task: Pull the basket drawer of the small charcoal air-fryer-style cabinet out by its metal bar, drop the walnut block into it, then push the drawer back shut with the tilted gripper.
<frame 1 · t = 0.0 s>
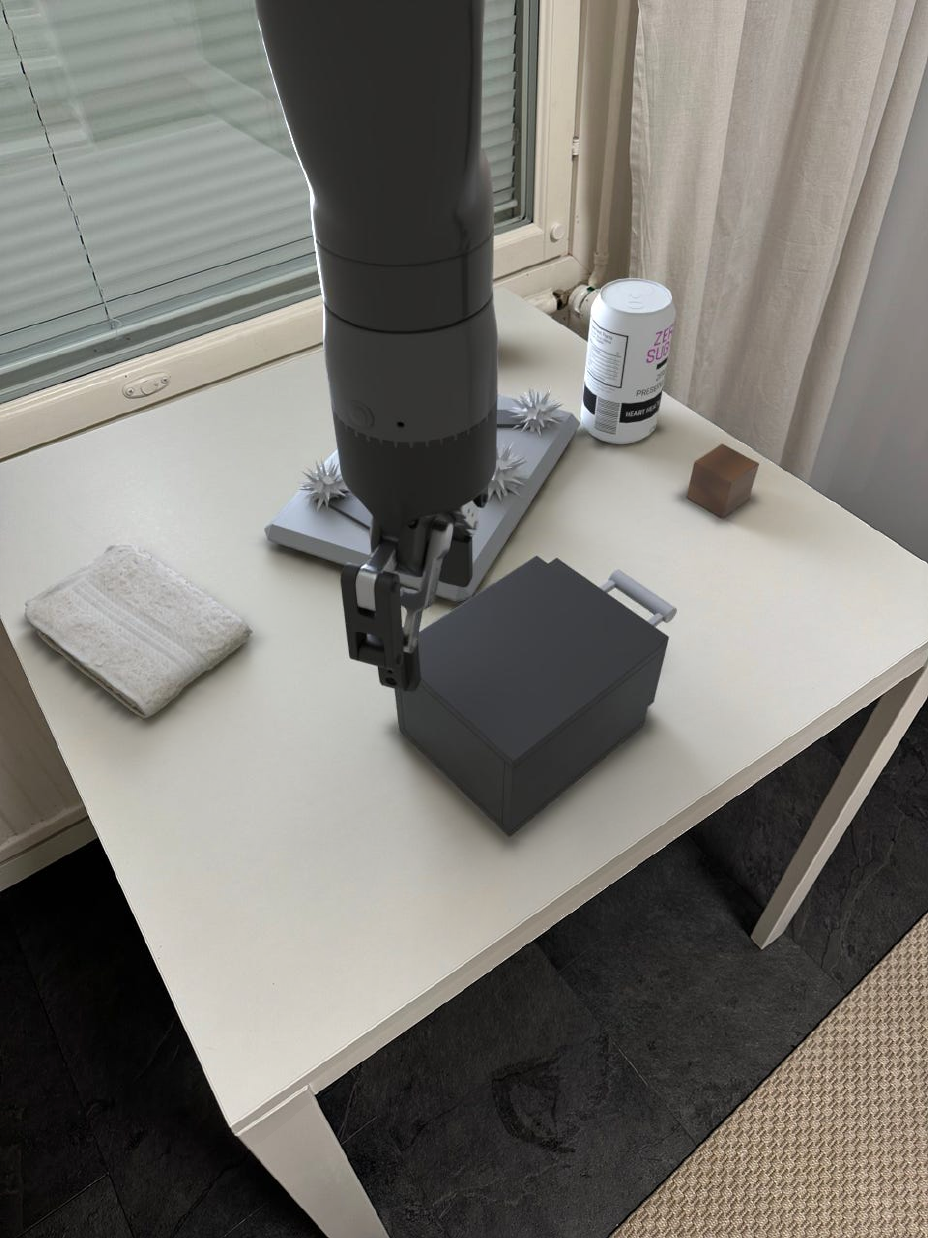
hand: (428, 629, 52), 19 cm above the table, tool pointing down, fingers open, 8 cm apart
grey zigzag star board: (432, 485, 91), on the table
washcloth: (139, 634, 77), on the table
drawer: (567, 657, 68), point 5 cm above the table, slide at 0.5 cm
cabinet: (521, 727, 70), on the table
decorative egg: (464, 351, 108), on the table
block: (717, 498, 89), on the table
supplement can: (617, 426, 97), on the table
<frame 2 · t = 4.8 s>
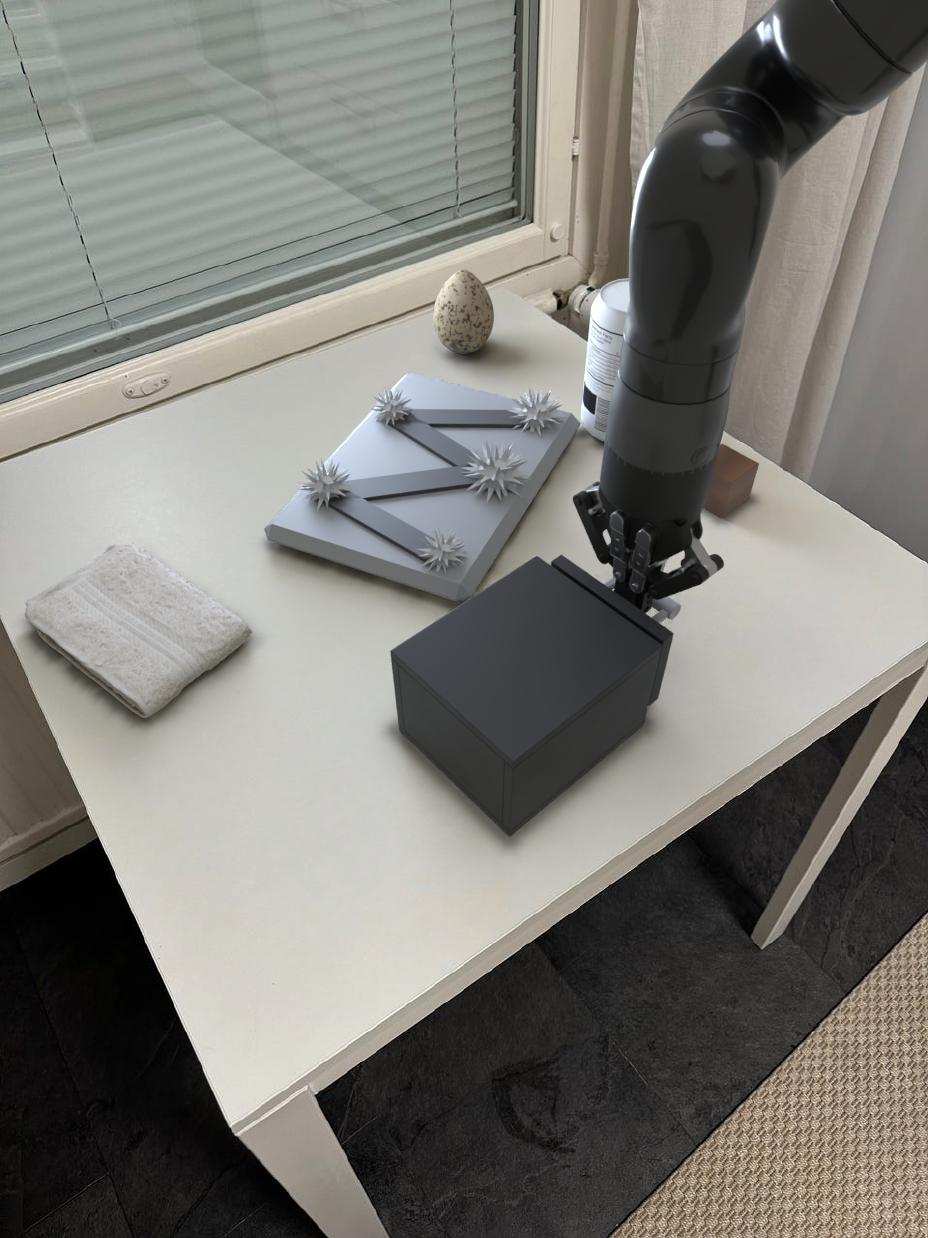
hand: (629, 612, 72), 5 cm above the table, tool pointing down, fingers closed
drawer: (572, 654, 69), point 5 cm above the table, slide at 1.0 cm, touching gripper
everything else where it was.
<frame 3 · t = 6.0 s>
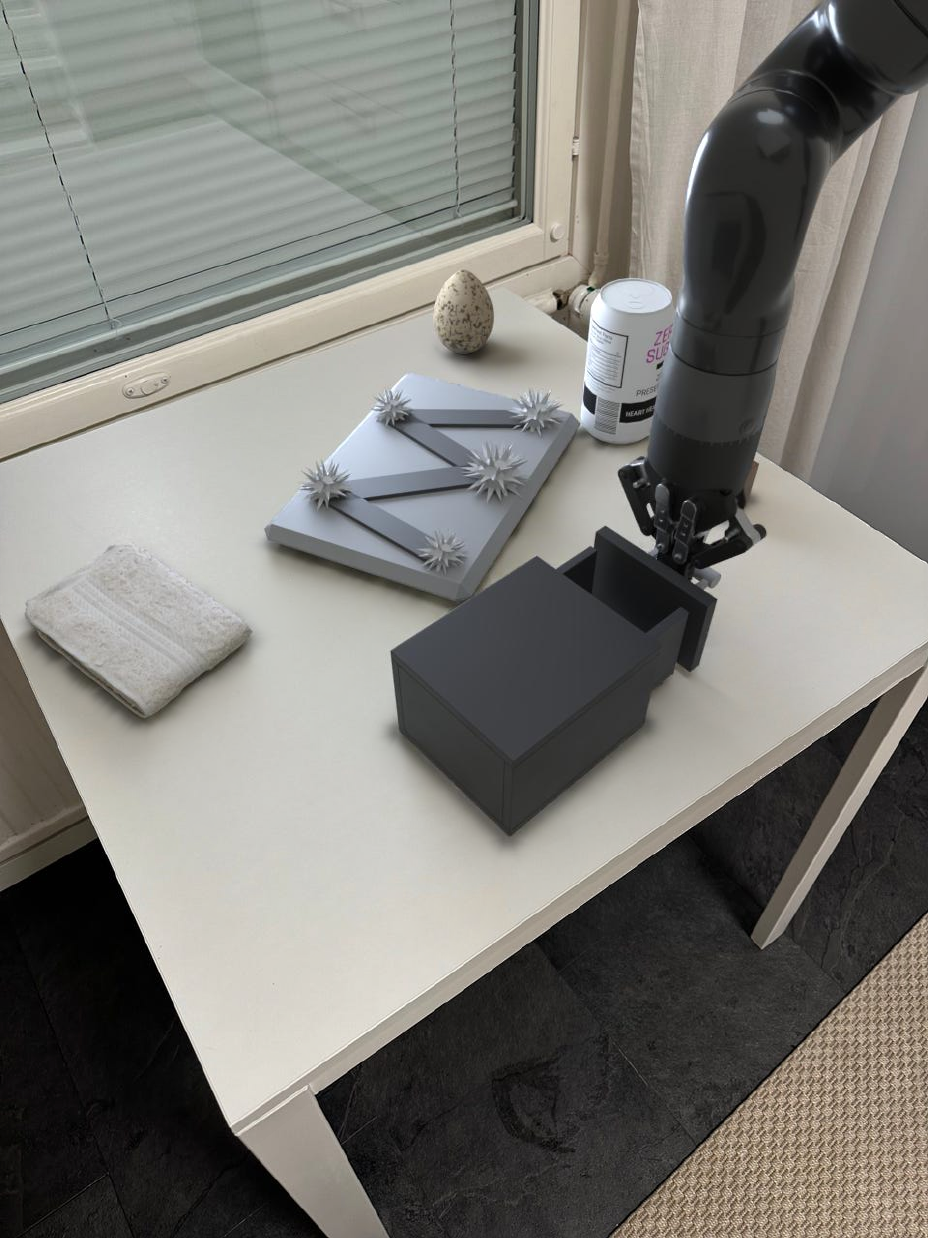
hand: (670, 583, 74), 5 cm above the table, tool pointing down, fingers closed
drawer: (617, 621, 71), point 5 cm above the table, slide at 6.2 cm, touching gripper
everything else where it was.
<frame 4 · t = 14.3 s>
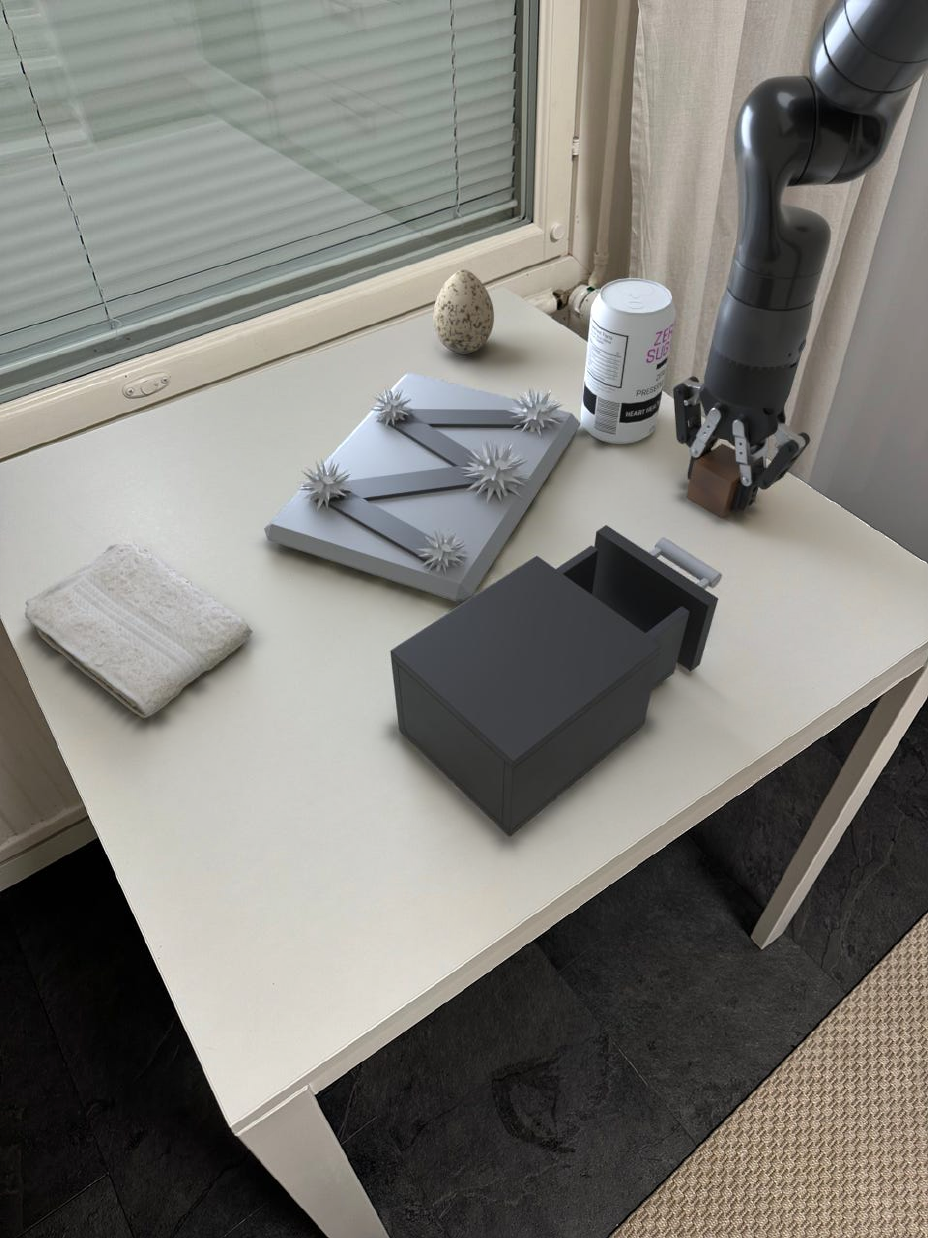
hand: (718, 495, 88), 0 cm above the table, tool pointing down, fingers closed on block, 4 cm apart
drawer: (617, 620, 71), point 5 cm above the table, slide at 6.3 cm
block: (717, 498, 89), on the table, touching gripper
everything else where it was.
when the fingers open (9 cm above the table, at t = 19.9 s): block drops 7 cm, resting on drawer.
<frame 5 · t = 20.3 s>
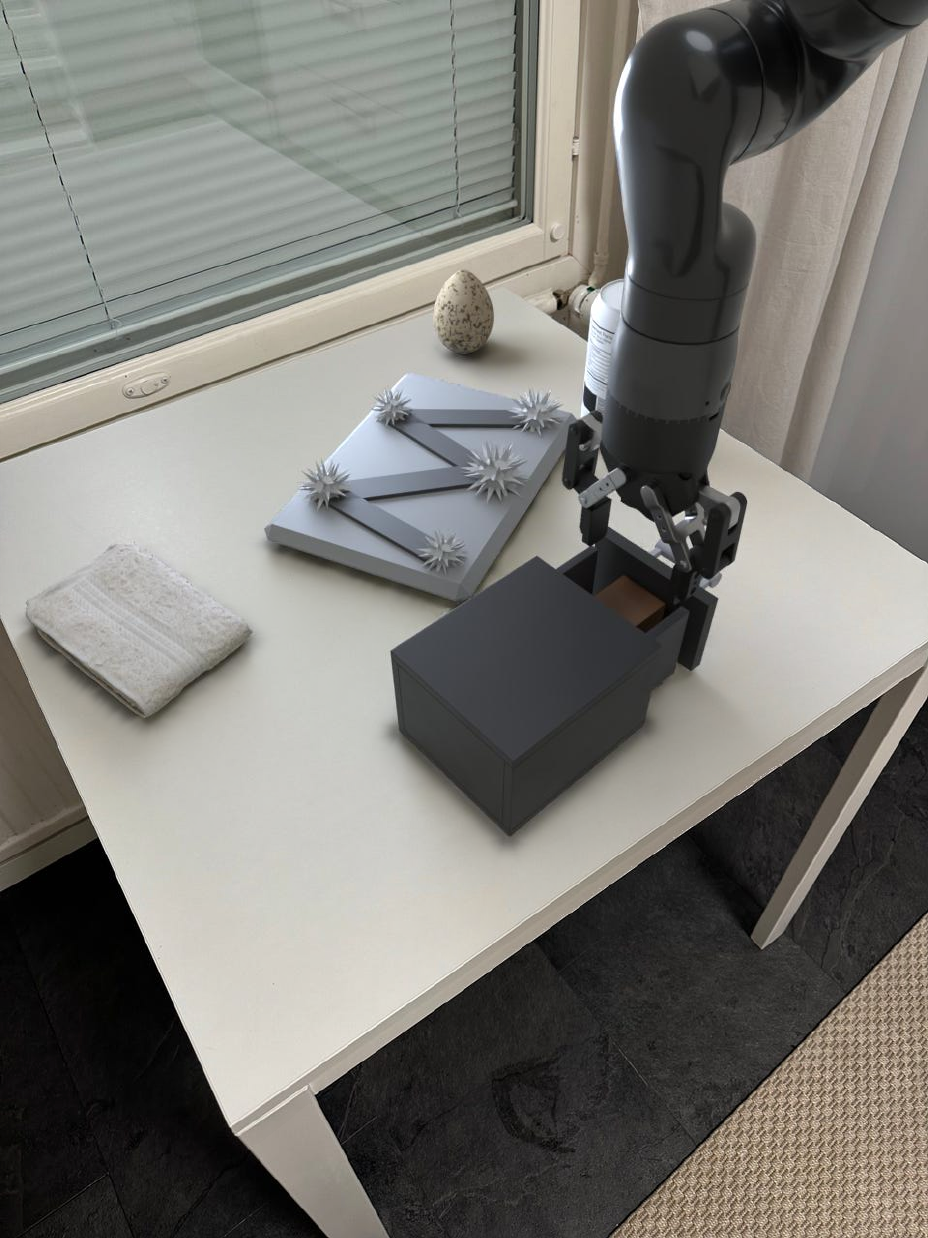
hand: (635, 567, 68), 10 cm above the table, tool pointing down, fingers open, 8 cm apart
drawer: (617, 620, 71), point 5 cm above the table, slide at 6.3 cm, touching block
block: (620, 639, 73), point 2 cm above the table, touching drawer
everything else where it was.
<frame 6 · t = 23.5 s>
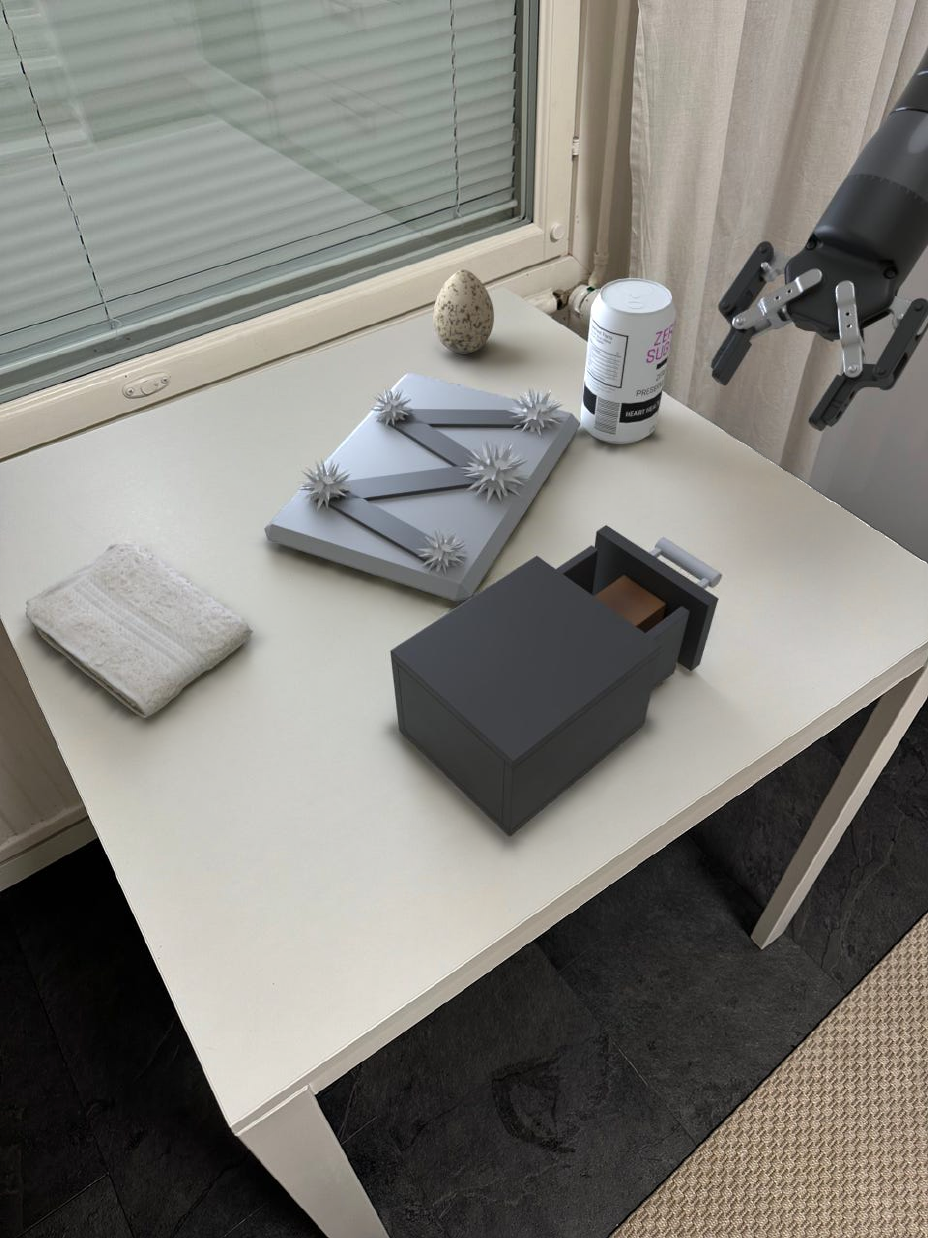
hand: (764, 403, 67), 19 cm above the table, tool tilted 45°, fingers open, 8 cm apart
nothing on the table moved.
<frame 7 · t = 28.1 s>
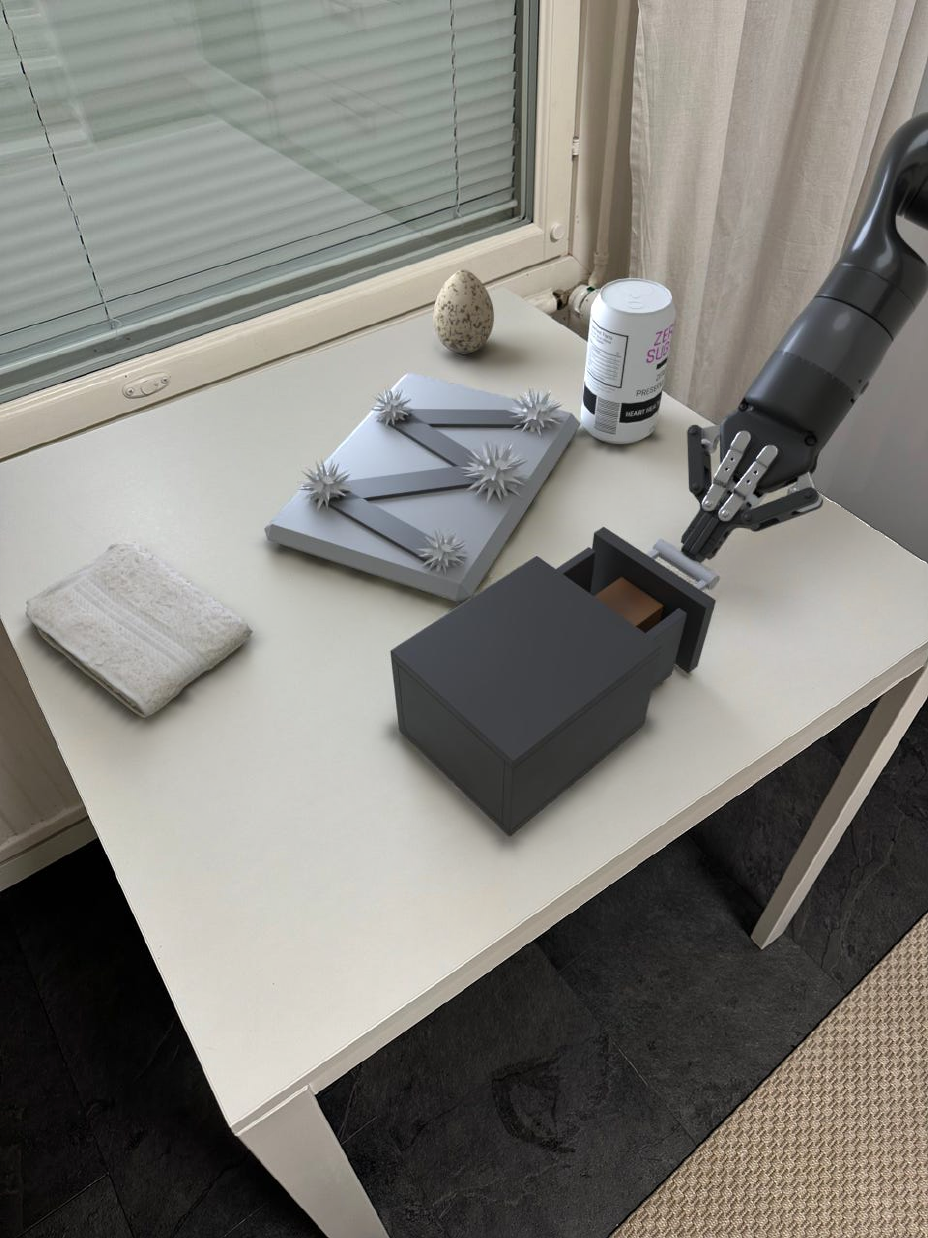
hand: (691, 557, 74), 6 cm above the table, tool tilted 45°, fingers closed
drawer: (615, 622, 71), point 5 cm above the table, slide at 6.0 cm, touching block, gripper
everything else where it was.
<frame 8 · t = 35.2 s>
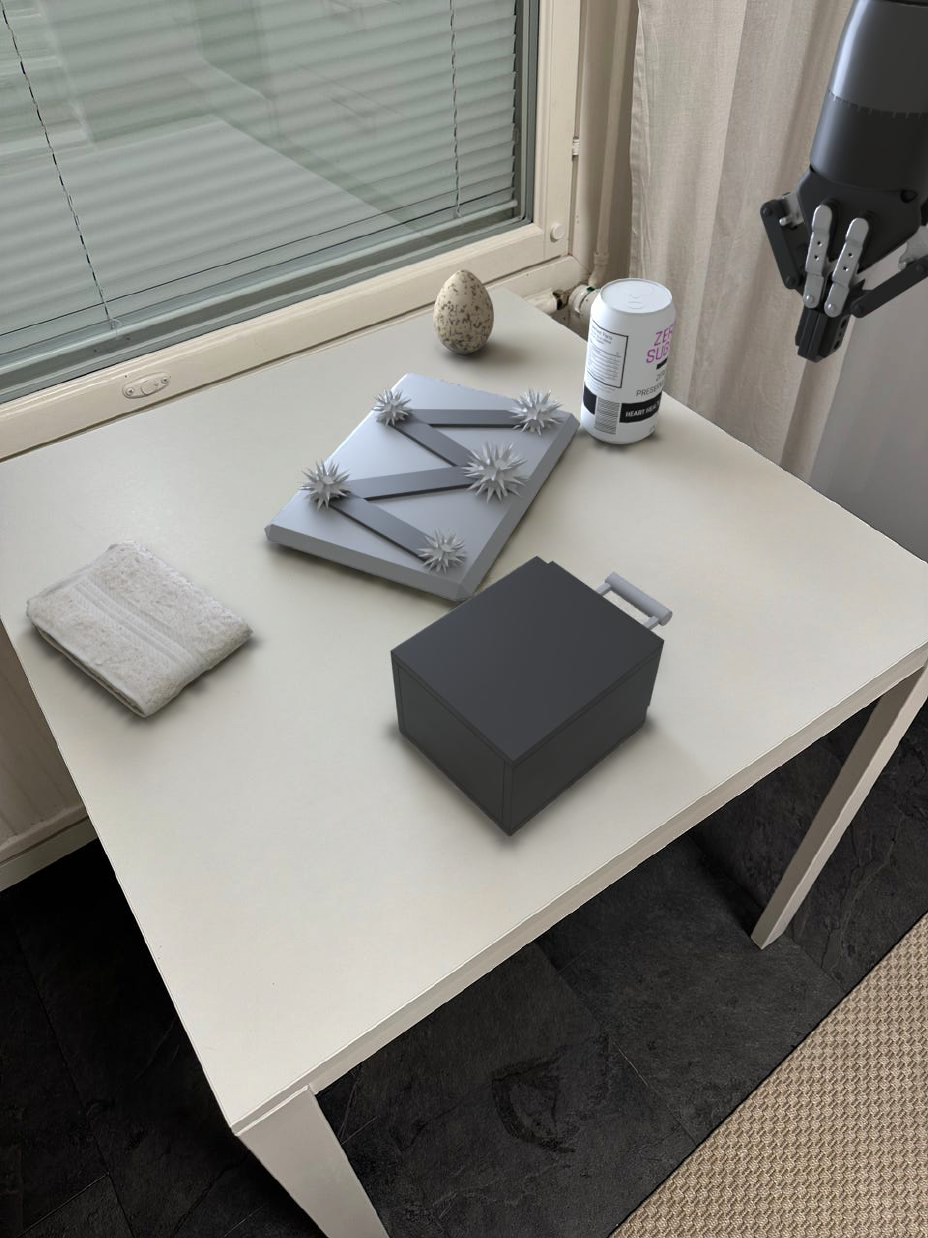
hand: (813, 355, 64), 23 cm above the table, tool pointing down, fingers closed
drawer: (563, 660, 68), point 5 cm above the table, slide at 0.0 cm, touching block
block: (567, 678, 71), point 2 cm above the table, touching drawer
everything else where it was.
at the end: drawer pulled out 6.3 cm at the most during the clip, back to where it started at the end; block inside the target area in the cabinet (4.7 cm from its centre), point 2.0 cm above the cabinet's base; drawer slide at 0.0 cm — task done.
